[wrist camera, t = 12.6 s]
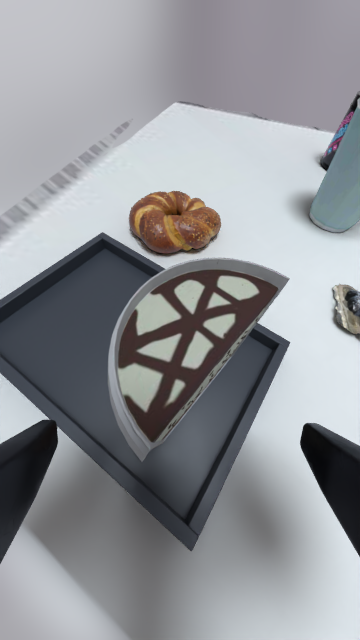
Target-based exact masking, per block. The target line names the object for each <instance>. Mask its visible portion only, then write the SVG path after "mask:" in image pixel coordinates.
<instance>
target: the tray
mask: <svg viewBox="0 0 360 640" xmlns="http://www.w3.org/2000/svg"><path fill="white" fill-rule="evenodd" d="M163 270H165V269H164V268H163V267H161V266H159V265H157V264H156V263H154V262H152V261H151V260H149V259H147V258H146V257H144V256H142V255H140V254H139V253H137V252H135V251H134V250H132V249H130V248H128V247H127V246H125V245H123V244H122V243H120V242H118V241H116V240H115V239H113V238H111V237H110V236H108V235H106V234H105V233H103V232H102V233H101V234H99V235H98V236H96V237H95V238H93V239H92V240H90V241H89V242H87V243H86V244H84V245H83V246H81V247H80V248H78V249H76V250H75V251H73V252H72V253H70V254H69V255H67V256H66V257H64V258H63V259H61V260H60V261H58V262H57V263H55V264H54V265H52V266H51V267H49V268H48V269H46V270H45V271H43V272H42V273H40V274H39V275H37V276H36V277H34V278H33V279H31V280H30V281H28V282H27V283H25V284H24V285H22V286H21V287H19V288H17V289H16V290H14V291H13V292H11V293H10V294H8V295H7V296H5V297H4V298H2V299H1V300H0V373H1V374H2V375H3V376H4V377H5V378H6V379H8V380H9V381H10V382H11V383H12V384H13V385H14V386H15V387H16V388H17V389H18V390H19V391H20V392H21V393H22V394H24V395H25V396H26V397H27V398H28V399H29V400H30V401H31V402H32V403H33V404H34V405H35V406H36V407H37V408H39V409H40V410H41V411H42V412H43V413H44V414H45V415H46V416H47V417H48V418H49V419H50V420H55V421H56V423H57V426H58V427H59V428H60V429H61V430H62V431H63V432H64V433H65V434H66V435H67V436H68V437H69V438H71V439H72V440H73V441H74V442H75V443H76V444H77V445H78V446H79V447H80V448H81V449H82V450H83V451H84V452H86V453H87V454H88V455H89V456H90V457H91V458H92V459H93V460H94V461H95V462H96V463H97V464H98V465H99V466H100V467H102V468H103V469H104V470H105V471H106V472H107V473H108V474H109V475H110V476H111V477H112V478H113V479H114V480H115V481H117V482H118V483H119V484H120V485H121V486H122V487H123V488H124V489H125V490H126V491H127V492H128V493H129V494H130V495H131V496H133V497H134V498H135V499H136V500H137V501H138V502H139V503H140V504H141V505H142V506H143V507H144V508H145V509H146V510H148V511H149V512H150V513H151V514H152V515H153V516H154V517H155V518H156V519H157V520H158V521H159V522H160V523H161V524H162V525H164V526H165V527H166V528H167V529H168V530H169V531H170V532H171V533H172V534H173V535H174V536H175V537H176V538H177V539H179V540H180V541H181V542H182V543H183V544H184V545H185V546H186V547H187V548H188V549H189V550H190V551H192V550H193V548H194V546H195V544H196V542H197V540H198V538H199V536H198V535H200V533H201V531H202V529H203V527H204V525H205V523H206V521H207V519H208V516H209V514H210V512H211V510H212V508H213V506H214V504H215V502H216V499H217V497H218V495H219V493H220V491H221V489H222V487H223V485H224V482H225V480H226V478H227V476H228V474H229V472H230V470H231V468H232V465H233V463H234V461H235V459H236V457H237V455H238V453H239V451H240V448H241V446H242V444H243V442H244V440H245V438H246V436H247V434H248V431H249V429H250V427H251V425H252V423H253V421H254V419H255V417H256V414H257V412H258V410H259V408H260V406H261V404H262V402H263V400H264V397H265V395H266V393H267V391H268V389H269V387H270V385H271V383H272V380H273V378H274V376H275V374H276V372H277V370H278V368H279V366H280V363H281V361H282V359H283V357H284V355H285V353H286V351H287V348H288V346H289V344H290V342H289V341H287V340H286V339H284V338H282V337H280V336H279V335H277V334H275V333H274V332H272V331H270V330H268V329H267V328H265V327H263V326H262V325H260V324H258V323H257V324H256V325H255V326H254V328H253V329H252V330H251V332H250V333H249V334H248V336H247V337H246V338H245V340H244V341H243V343H242V344H241V345H240V347H239V348H238V349H237V351H236V352H235V353H234V355H233V356H232V357H231V359H230V360H229V361H228V362H227V364H226V365H225V366H224V367H223V369H222V370H221V371H220V372H219V374H218V375H217V376H216V377H215V379H214V380H213V381H212V382H211V384H210V385H209V386H208V387H207V389H206V390H205V391H204V392H203V393H202V395H201V396H200V397H199V398H198V400H197V401H196V402H195V403H194V405H193V406H192V407H191V408H190V410H189V411H188V412H187V413H186V415H185V416H184V417H183V418H182V420H181V421H180V422H179V423H178V425H177V426H176V427H175V428H174V430H173V431H172V432H171V433H170V435H169V436H168V437H167V438H166V440H165V441H164V442H163V443H162V444H160V445H158V446H157V447H155V448H153V449H152V450H150V451H149V452H148V454H147V456H146V458H145V459H144V460H143V462H141V460H140V459H139V458H138V456H137V455H136V454H135V452H134V451H133V450H132V449H131V447H130V446H129V444H128V443H127V441H126V439H125V437H124V435H123V433H122V431H121V429H120V428H119V426H118V423H117V420H116V417H115V414H114V411H113V408H112V405H111V401H110V395H109V388H108V356H109V349H110V344H111V338H112V334H113V332H114V329H115V326H116V324H117V321H118V319H119V317H120V315H121V313H122V312H123V310H124V308H125V307H126V305H127V304H128V302H129V300H130V299H131V298H132V297H133V295H134V294H135V293H136V292H137V291H138V289H139V288H140V287H141V286H143V285H144V284H145V283H146V282H147V281H148V280H149V279H151V278H152V277H154V276H155V275H157V274H158V273H160V272H162V271H163Z"/></svg>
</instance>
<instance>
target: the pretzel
mask: <svg viewBox="0 0 360 640" xmlns="http://www.w3.org/2000/svg"><path fill="white" fill-rule="evenodd" d="M129 224H130V228H131V230H132V231H133V233H134V234H135V235H136V236H138V237H139V238H141V239H142V240H143V242H144V243H145V244H146V245H147V247H148V248H150V249H151V250H153V251H155V252H159V253H173V252H176V251H179V250H181V249H183V250H187V251H189V250H190V249H191V248H195V249H199V248H202V247H204V246H205V245H206V244H207V243H209V241H210V239H211V237H214V236H215V235H216V234H217V233H218V232H219V230H220V227H221V222H220V217H219V215H218V213H217V212H216V211H215V210H213V209H211V208H209V207H206V205H205V204H204V202H203V201H202V200H201V199H199V198H193V199H190V197H189V196H188V195H187V194H185V193H183V192H180V191H172V192H169V193H166V192H155V193H151V194H149V195H147V196H145V197H144V198H142V199H141V200H139V201H138V202H137V203H136V204H135V205H134V206H133V207H132V208H131V211H130V215H129Z"/></svg>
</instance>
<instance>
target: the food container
mask: <svg viewBox="0 0 360 640" xmlns="http://www.w3.org/2000/svg"><path fill="white" fill-rule="evenodd" d="M289 279H290V278H288V277H286V276H284V275H282V274H280V273H278V272H277V271H274V270H272V269H269V268H267V267H264V266H262V265H258V264H255V263H251V262H248V261H243V260H237V259H229V258H203V259H197V260H191V261H187V262H184V263H180V264H177V265H174V266H172V267H170V268H168V269H165V270H163V271H162V272H160V273H158V274H157V275H155V276H154V277H152V278H151V279H149V280H148V281H147V282H146V283H145V284H144V285H143V286H141V287H140V288H139V289H138V291H137V292H136V293H135V294H134V295H133V297H132V298H131V299H130V300H129V302H128V304H127V305H126V307H125V308H124V310H123V312H122V313H121V315H120V317H119V319H118V321H117V324H116V326H115V329H114V332H113V334H112V338H111V344H110V349H109V356H108V388H109V395H110V401H111V405H112V408H113V411H114V414H115V417H116V420H117V423H118V426H119V428H120V429H121V431H122V433H123V435H124V437H125V439H126V441H127V443H128V444H129V446H130V447H131V449H132V450H133V451H134V452H135V454H136V455H137V456H138V458H139V459H140V460H141V462H143V460H144V459H145V458H146V456H147V454H148V452H149V451H150V450H152V449H153V448H155V447H157V446H158V445H160V444H162V443H163V442H164V441H165V440H166V438H167V437H168V436H169V435H170V433H171V432H172V431H173V430H174V428H175V427H176V426H177V425H178V423H179V422H180V421H181V420H182V418H183V417H184V416H185V415H186V413H187V412H188V411H189V410H190V408H191V407H192V406H193V405H194V403H195V402H196V401H197V400H198V398H199V397H200V396H201V395H202V393H203V392H204V391H205V390H206V389H207V387H208V386H209V385H210V384H211V382H212V381H213V380H214V379H215V377H216V376H217V375H218V374H219V372H220V371H221V370H222V369H223V367H224V366H225V365H226V364H227V362H228V361H229V360H230V359H231V357H232V356H233V355H234V353H235V352H236V351H237V349H238V348H239V347H240V345H241V344H242V343H243V341H244V340H245V338H246V337H247V336H248V334H249V333H250V332H251V330H252V329H253V328H254V326H255V325H256V324H257V322H258V321H259V320H260V318H261V317H262V316H263V314H264V313H265V312H266V310H267V309H268V307H269V306H270V305H271V303H272V302H273V301H274V299H275V298H276V297H277V296H278V295H279V293H280V292H281V290H282V289H283V288H284V286H285V285H286V283H287V282H288V280H289Z"/></svg>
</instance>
